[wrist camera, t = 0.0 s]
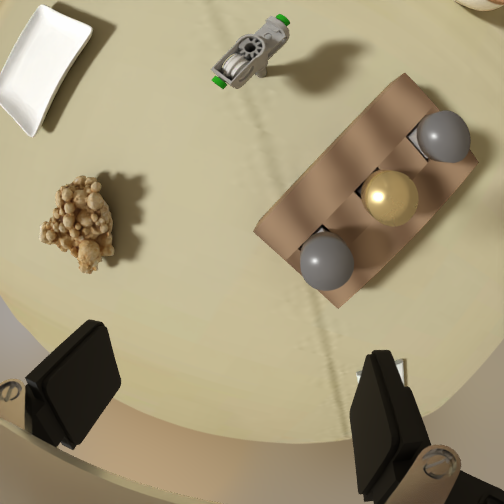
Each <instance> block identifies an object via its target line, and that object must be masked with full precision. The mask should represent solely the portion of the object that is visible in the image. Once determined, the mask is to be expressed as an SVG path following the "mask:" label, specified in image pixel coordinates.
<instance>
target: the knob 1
mask: <svg viewBox="0 0 504 504" xmlns="http://www.w3.org/2000/svg"><path fill="white" fill-rule="evenodd" d="M300 267H301V273H302V276H303V278H304V280H305V281H306V282H307V283H308V284H309V285H310V286H311V287H313V288H315V289H318V290H322V291H331V290H335V289H338V288H340V287H341V286H343V285H344V284H345V283H346V282H347V281H348V280H349V279H350V277H351V275H352V273H353V270H354V259H353V255H352V253H351V251H350V249H349V248H348V246H347V244H346V243H345V241H344V240H343V239H342V238H341V237H340V236H338V235H337V234H335V233H331V232H328V231H327V230H326V229H325V228H324V227H323V226H322V225H321V226H320V227H319V228H318V229H317V230H316V231H315V232H314V233H313V234H312V235H311V236H310V237H309V238H308V239H307V240H306V241H305V242H304V243H303V244H302V248H301V252H300Z"/></svg>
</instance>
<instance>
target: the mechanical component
mask: <svg viewBox="0 0 504 504" xmlns="http://www.w3.org/2000/svg"><path fill="white" fill-rule="evenodd" d="M289 24H290V22H289V20H288V19H287V18H286V17H285V16H283V15H281V14H278V15H277V16H276V17H272V16H270V17H269V18H267V19H266V24H264V25H263V26H262V27H261V28H260V29H259V30H258V31H257V32H256V33H255V34H247V35H244V36H242V37H240V38H239V39H238V40H237V42H236V44H235V45H234V46H233V47H232V48H231V49H230V50H229V51H228V52H227V53H226V54H225V55H224V56H223V57H222V58H221V59H220V60H219V61H218V62H217V63H216V64H215V65H214V66H213V67H212V69H211V70H212V71H213V72H214V73H215V74H216V75H217V76H219V77H217V76H215V77H214V78H213V79H212V81H213V82H214V83H216V84H217V85H218V86H219V87H221V88H222V89H224V88H225V87H226V86H227V84H226V83H225V82H227V83H228V84H229V85H231V86H232V87H233V88H234V87H235V88H236V89H239V88H240V87H242V86H243V85H244V84H245V83H246V82H247V81H248V80H249V79H250V78H251V77H252V76H253V75H254V74H255V75H257V76H258V77H260V78H262V77H265V76H266V74H267V70H266V66H267V64H268V60H269V59H270V58H271V57H272V56H273V55H274V54H275V53H276V52H277V51H278V50H279V49H280V48H281V47H282V46H283V45H284V44H285V43H286V42H287V40H288V39H289V29H288V28H287V26H288V25H289ZM232 54H235V55H233V56H231V57H230V58H229V59H228V60H227V61H226V63H225V64H224V67H223V68H222V65H223V63H224V62H225V60H226V59H227V58H228V57H229V56H230V55H232Z"/></svg>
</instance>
